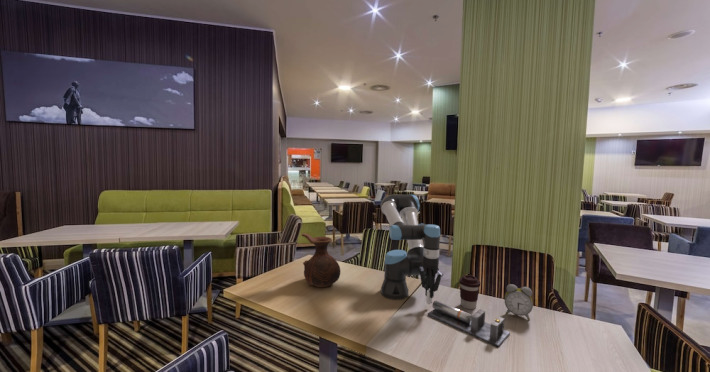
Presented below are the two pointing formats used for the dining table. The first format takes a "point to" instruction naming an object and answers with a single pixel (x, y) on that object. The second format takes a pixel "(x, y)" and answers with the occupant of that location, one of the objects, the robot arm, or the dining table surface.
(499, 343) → the grey holder stand
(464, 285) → the coffee cup
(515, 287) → the alarm clock
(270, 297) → the dining table surface
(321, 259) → the jug
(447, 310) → the tube
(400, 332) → the dining table surface
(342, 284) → the dining table surface
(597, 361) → the dining table surface
